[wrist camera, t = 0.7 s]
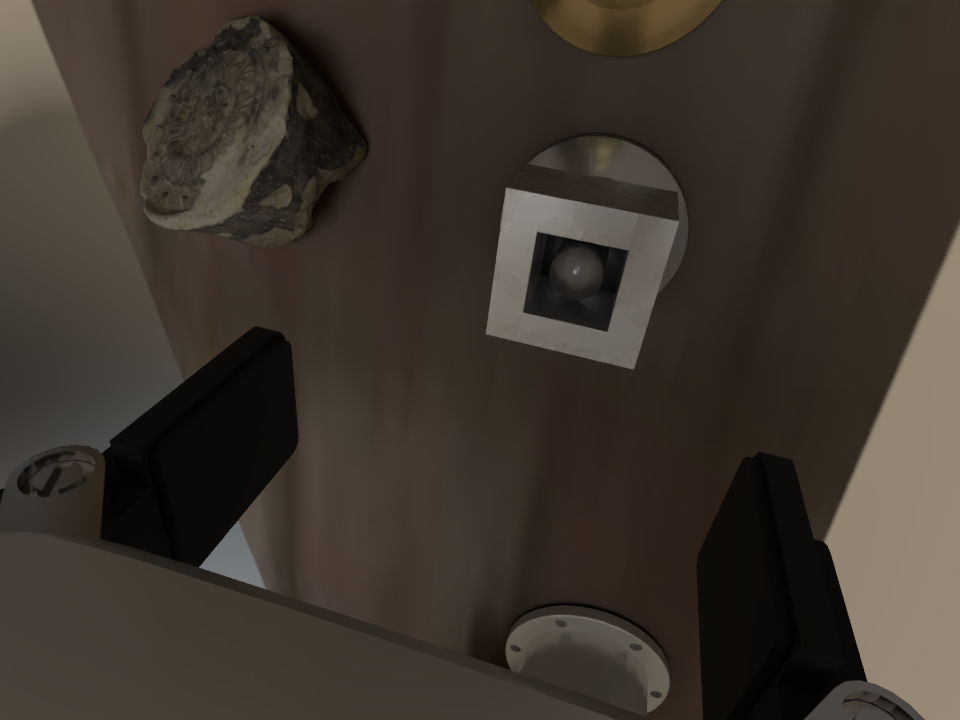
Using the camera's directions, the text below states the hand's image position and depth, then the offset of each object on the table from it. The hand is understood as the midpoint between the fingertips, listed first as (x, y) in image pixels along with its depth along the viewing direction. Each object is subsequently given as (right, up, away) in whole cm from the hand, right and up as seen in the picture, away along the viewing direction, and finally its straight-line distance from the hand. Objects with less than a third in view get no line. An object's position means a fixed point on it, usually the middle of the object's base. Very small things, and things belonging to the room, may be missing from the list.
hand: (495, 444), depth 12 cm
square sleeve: (+4, +7, +15) cm, 17 cm away
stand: (+5, +8, +18) cm, 20 cm away
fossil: (-11, +14, +20) cm, 27 cm away
